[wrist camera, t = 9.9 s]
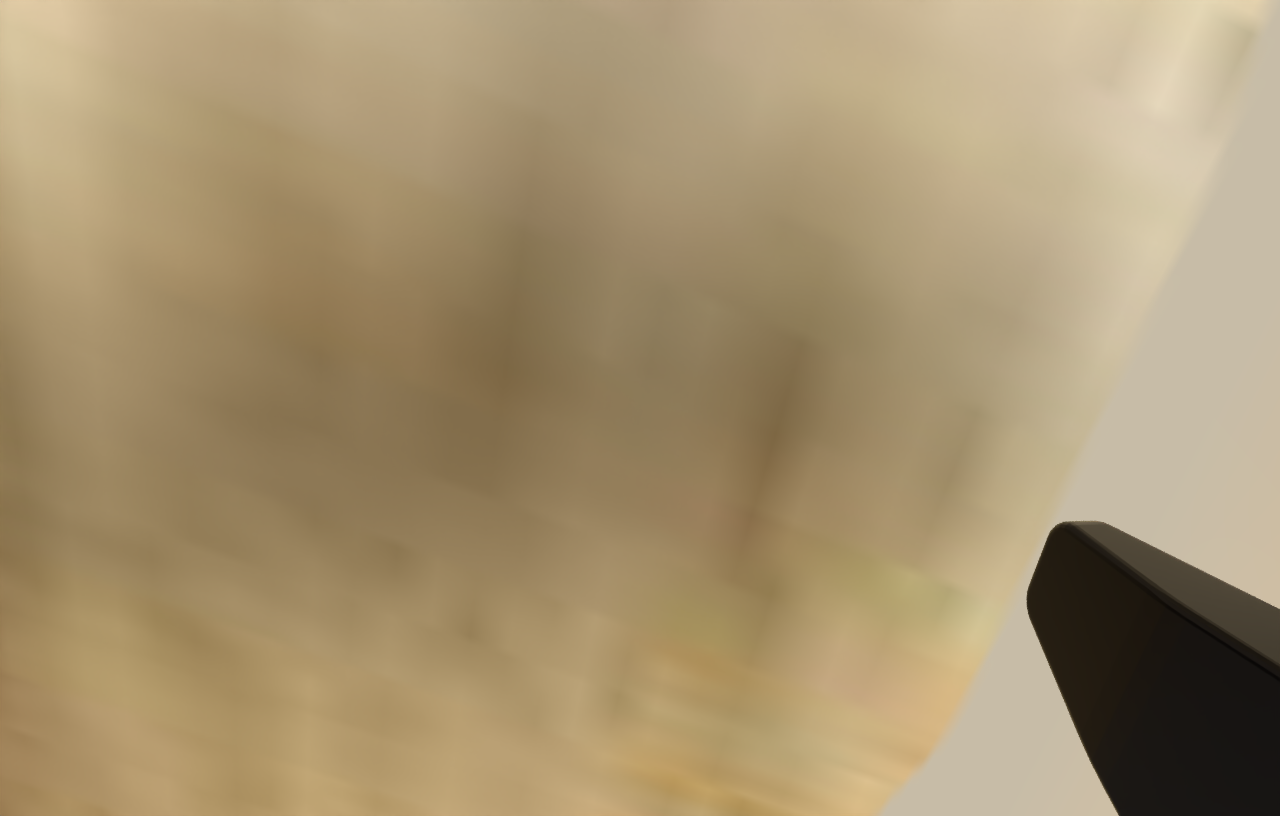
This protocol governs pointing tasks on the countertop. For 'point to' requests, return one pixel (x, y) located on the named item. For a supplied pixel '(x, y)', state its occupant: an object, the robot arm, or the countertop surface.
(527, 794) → the countertop surface
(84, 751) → the countertop surface
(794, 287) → the countertop surface
